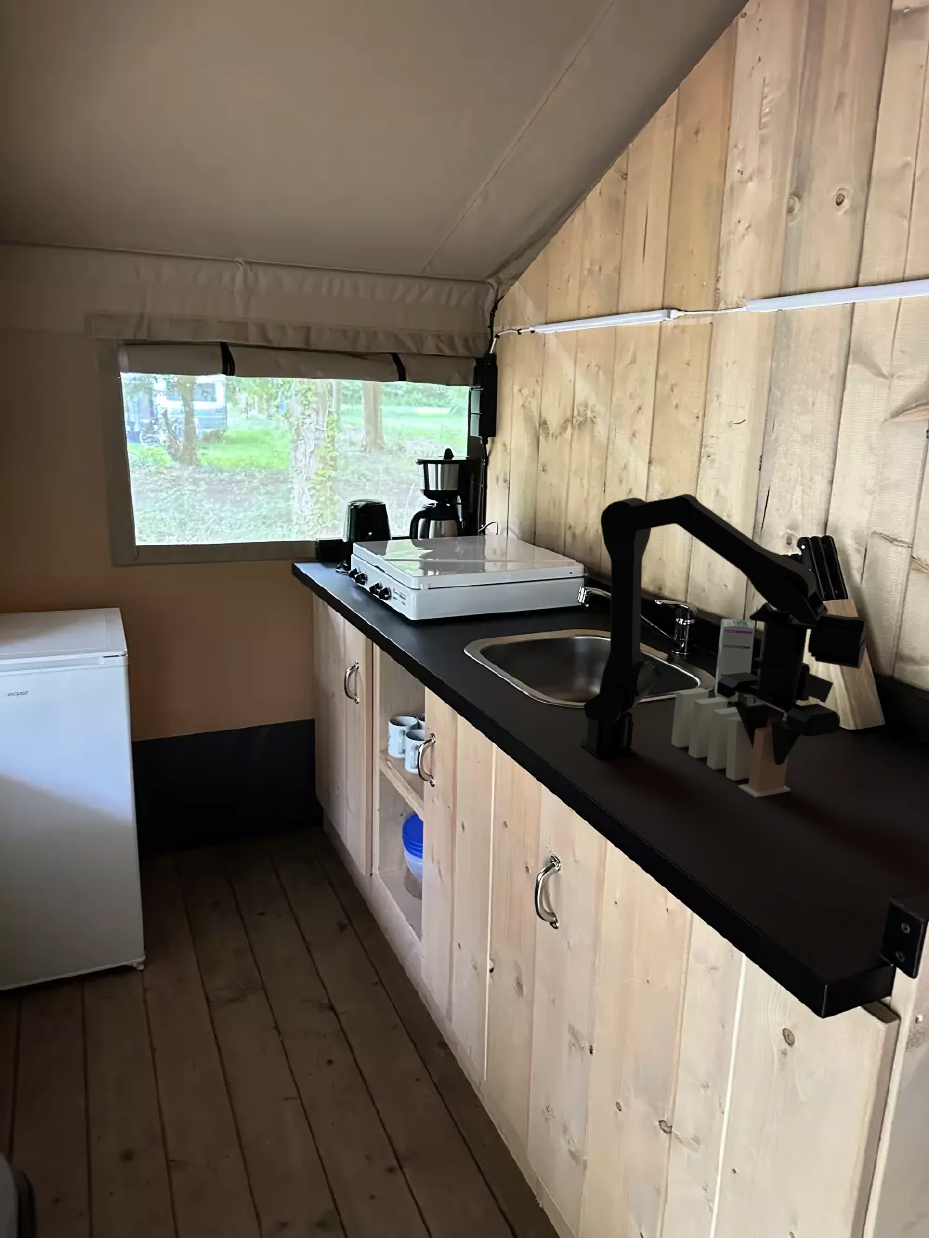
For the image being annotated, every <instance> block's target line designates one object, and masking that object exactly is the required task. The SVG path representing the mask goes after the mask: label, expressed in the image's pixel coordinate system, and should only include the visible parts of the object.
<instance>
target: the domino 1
mask: <svg viewBox="0 0 929 1238" xmlns="http://www.w3.org/2000/svg"><path fill="white" fill-rule="evenodd" d="M709 693H710V690H707V689H705V688H704V687H697V688H692V689H682V690H676V694H675V695H676V696H675V704H674V714H673V724H672V734H671V744H672V745H673V746H674V747H676V748H685V747H689V745H690V736H691V727H692V717H693V708H694V700H701V699H708V698H709Z"/></svg>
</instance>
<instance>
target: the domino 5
mask: <svg viewBox="0 0 929 1238" xmlns="http://www.w3.org/2000/svg"><path fill="white" fill-rule="evenodd" d="M788 760H789V755H788V756H787V758H786V759H785V761H784V763H783V764H782V765H776V764H775V759H774V752H773V738H772V726H771V725H770V726H767V727H764V728H757V729H755V737H754V745H753V753H752V761H751V769H750V777H749V778H748V784H749V785H748V787H750V788H751V789H753V790H754V791H756V792H759V791H764V790H770V789H776V788H781V787H784V786H785V783H786V775H787V774H786V773H787V768H788V767H787V766H788Z"/></svg>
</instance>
